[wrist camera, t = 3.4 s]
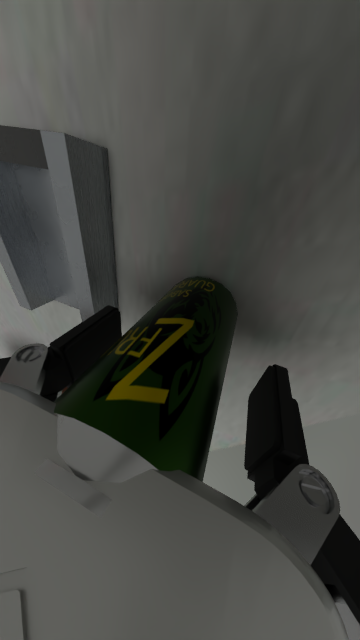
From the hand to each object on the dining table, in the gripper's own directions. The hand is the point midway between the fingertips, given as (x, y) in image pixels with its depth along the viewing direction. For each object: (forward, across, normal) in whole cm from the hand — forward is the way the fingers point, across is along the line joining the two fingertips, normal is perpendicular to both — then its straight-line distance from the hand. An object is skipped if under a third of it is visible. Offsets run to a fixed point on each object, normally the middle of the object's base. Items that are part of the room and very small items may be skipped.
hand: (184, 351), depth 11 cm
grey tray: (+5, +13, -2) cm, 14 cm away
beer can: (+5, 0, 0) cm, 5 cm away
